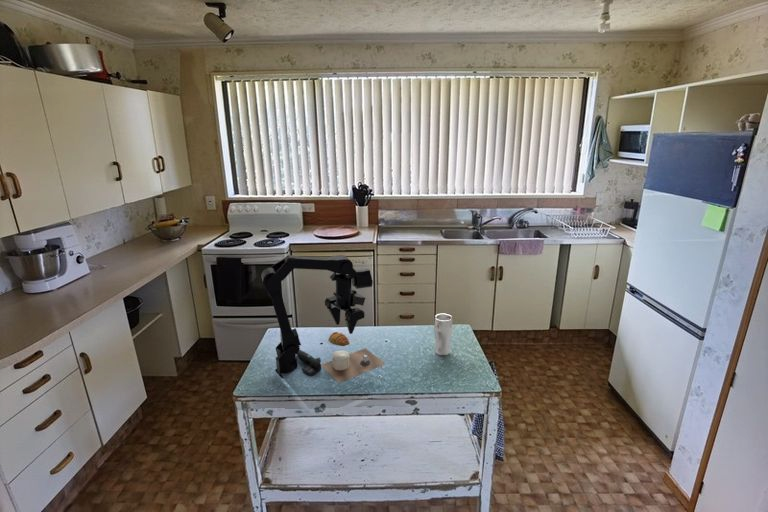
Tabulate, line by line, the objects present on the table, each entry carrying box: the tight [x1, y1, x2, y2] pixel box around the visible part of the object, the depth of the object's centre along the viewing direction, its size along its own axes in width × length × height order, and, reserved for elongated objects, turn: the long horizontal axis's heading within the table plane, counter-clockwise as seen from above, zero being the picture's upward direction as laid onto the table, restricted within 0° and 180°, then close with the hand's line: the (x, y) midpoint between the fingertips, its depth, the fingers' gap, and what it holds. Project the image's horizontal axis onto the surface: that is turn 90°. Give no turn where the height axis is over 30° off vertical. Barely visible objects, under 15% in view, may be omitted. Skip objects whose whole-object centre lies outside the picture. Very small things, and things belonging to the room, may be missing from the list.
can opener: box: [296, 349, 322, 377], centre depth 145 cm, size 18×7×6 cm, turn 37°
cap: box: [331, 350, 350, 370], centre depth 143 cm, size 6×6×4 cm
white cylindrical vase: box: [433, 313, 453, 357], centre depth 152 cm, size 7×7×15 cm
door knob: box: [360, 355, 370, 366], centre depth 145 cm, size 4×4×4 cm
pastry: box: [328, 331, 350, 347], centre depth 161 cm, size 9×7×4 cm
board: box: [320, 348, 387, 384], centre depth 145 cm, size 20×14×1 cm
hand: (344, 328), depth 146 cm, fingers open, 9 cm apart
